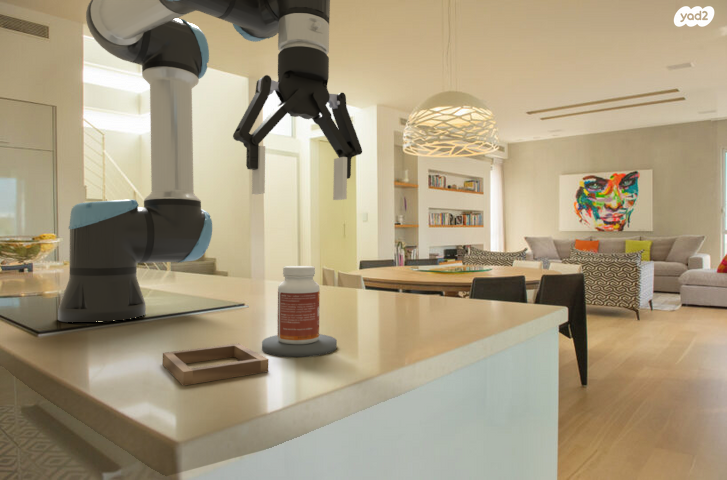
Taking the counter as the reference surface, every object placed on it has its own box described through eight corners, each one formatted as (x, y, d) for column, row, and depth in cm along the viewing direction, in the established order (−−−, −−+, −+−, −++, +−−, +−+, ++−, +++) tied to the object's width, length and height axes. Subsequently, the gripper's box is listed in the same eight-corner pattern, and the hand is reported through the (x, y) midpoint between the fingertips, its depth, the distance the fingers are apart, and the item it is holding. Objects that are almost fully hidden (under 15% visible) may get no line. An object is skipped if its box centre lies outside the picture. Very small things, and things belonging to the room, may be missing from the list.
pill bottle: (326, 342, 68) (327, 267, 68) (288, 347, 65) (289, 268, 65) (307, 334, 74) (308, 264, 74) (270, 339, 70) (271, 265, 70)
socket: (162, 364, 59) (162, 352, 59) (238, 354, 65) (238, 343, 65) (183, 385, 51) (183, 372, 51) (268, 371, 57) (268, 359, 57)
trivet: (250, 344, 71) (250, 338, 71) (313, 336, 77) (313, 330, 77) (282, 361, 62) (282, 353, 62) (350, 350, 68) (350, 343, 68)
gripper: (230, 21, 59) (227, 188, 59) (385, 65, 73) (382, 200, 74) (211, 40, 65) (209, 192, 65) (358, 78, 80) (356, 202, 80)
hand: (301, 197), depth 69 cm, fingers open, 13 cm apart
